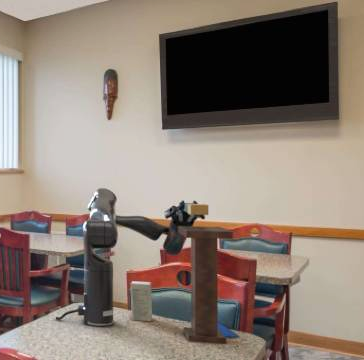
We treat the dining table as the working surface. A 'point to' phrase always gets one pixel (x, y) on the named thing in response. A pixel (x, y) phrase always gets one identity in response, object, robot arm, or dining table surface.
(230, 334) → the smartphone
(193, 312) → the shelf stand
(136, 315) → the cosmetic box
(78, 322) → the dining table surface
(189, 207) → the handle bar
